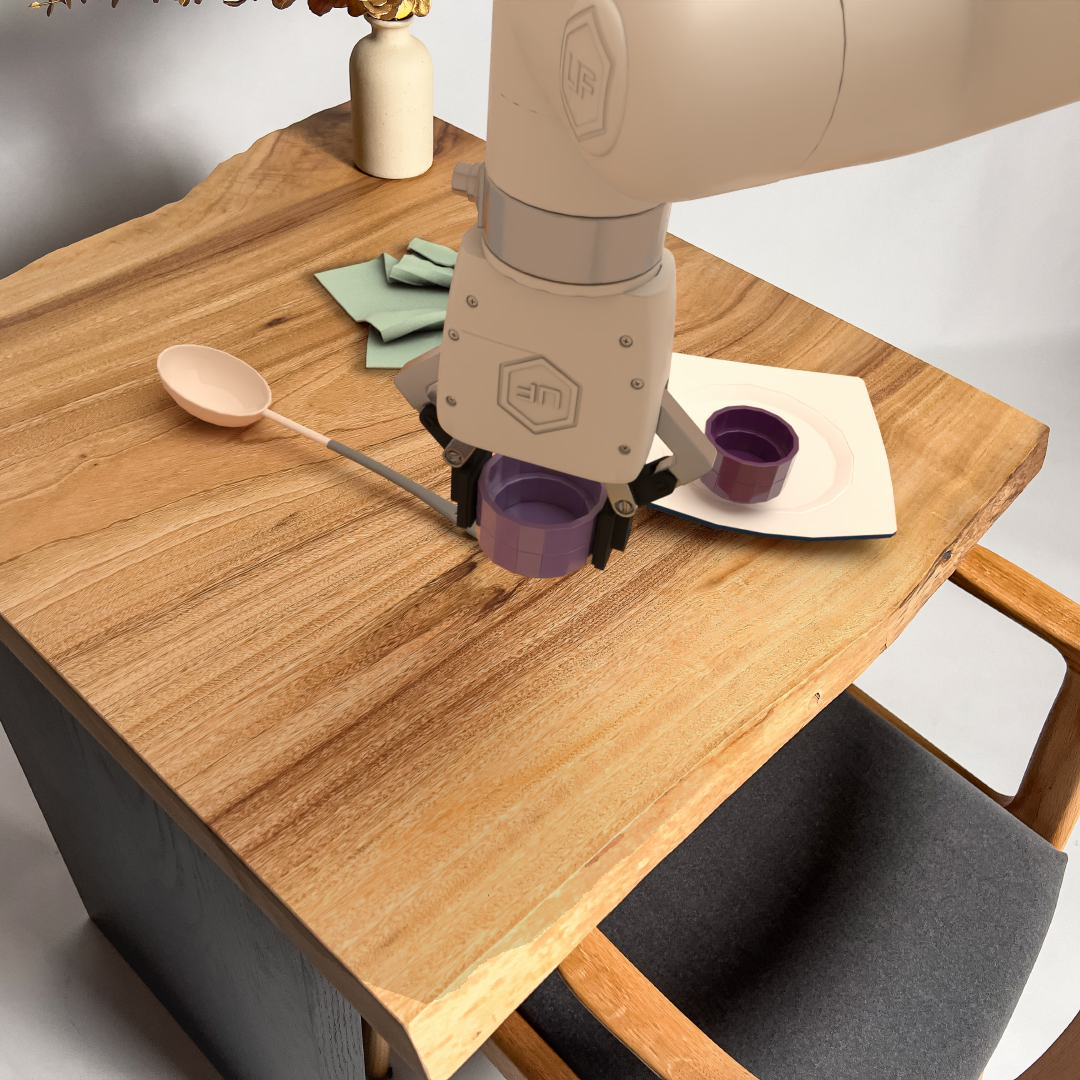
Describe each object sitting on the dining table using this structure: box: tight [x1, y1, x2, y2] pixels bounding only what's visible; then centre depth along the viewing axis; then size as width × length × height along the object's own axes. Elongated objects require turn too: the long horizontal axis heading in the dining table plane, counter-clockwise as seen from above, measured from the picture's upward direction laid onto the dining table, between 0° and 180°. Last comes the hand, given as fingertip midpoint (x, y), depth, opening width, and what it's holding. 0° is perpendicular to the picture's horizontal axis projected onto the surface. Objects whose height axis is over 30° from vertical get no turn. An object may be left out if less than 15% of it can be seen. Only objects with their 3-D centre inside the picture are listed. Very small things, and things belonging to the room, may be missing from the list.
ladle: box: [156, 343, 478, 540], centre depth 73 cm, size 6×28×5 cm, turn 61°
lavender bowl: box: [475, 453, 608, 580], centre depth 52 cm, size 7×7×4 cm
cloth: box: [313, 237, 458, 370], centre depth 88 cm, size 20×22×2 cm
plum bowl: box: [699, 405, 799, 504], centre depth 71 cm, size 7×7×4 cm
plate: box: [644, 351, 898, 543], centre depth 77 cm, size 20×20×3 cm
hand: (538, 529), depth 53 cm, fingers closed on lavender bowl, 6 cm apart
